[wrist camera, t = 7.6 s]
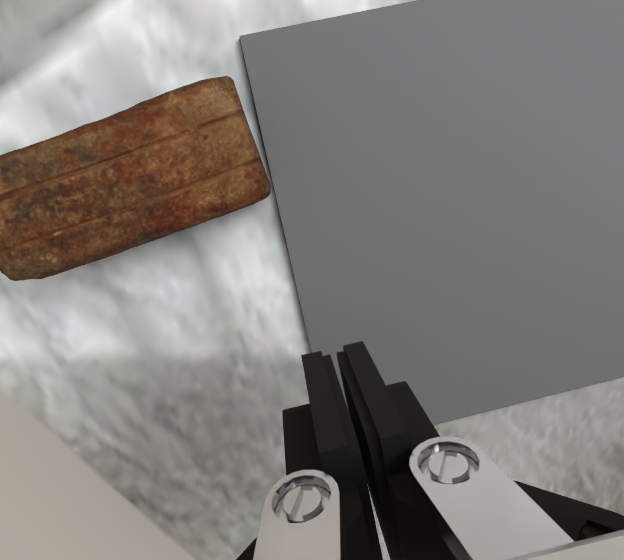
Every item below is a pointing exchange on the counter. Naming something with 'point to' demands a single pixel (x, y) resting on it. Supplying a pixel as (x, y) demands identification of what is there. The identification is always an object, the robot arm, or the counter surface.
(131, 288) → the counter surface
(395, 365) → the mat
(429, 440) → the robot arm
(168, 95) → the brick
